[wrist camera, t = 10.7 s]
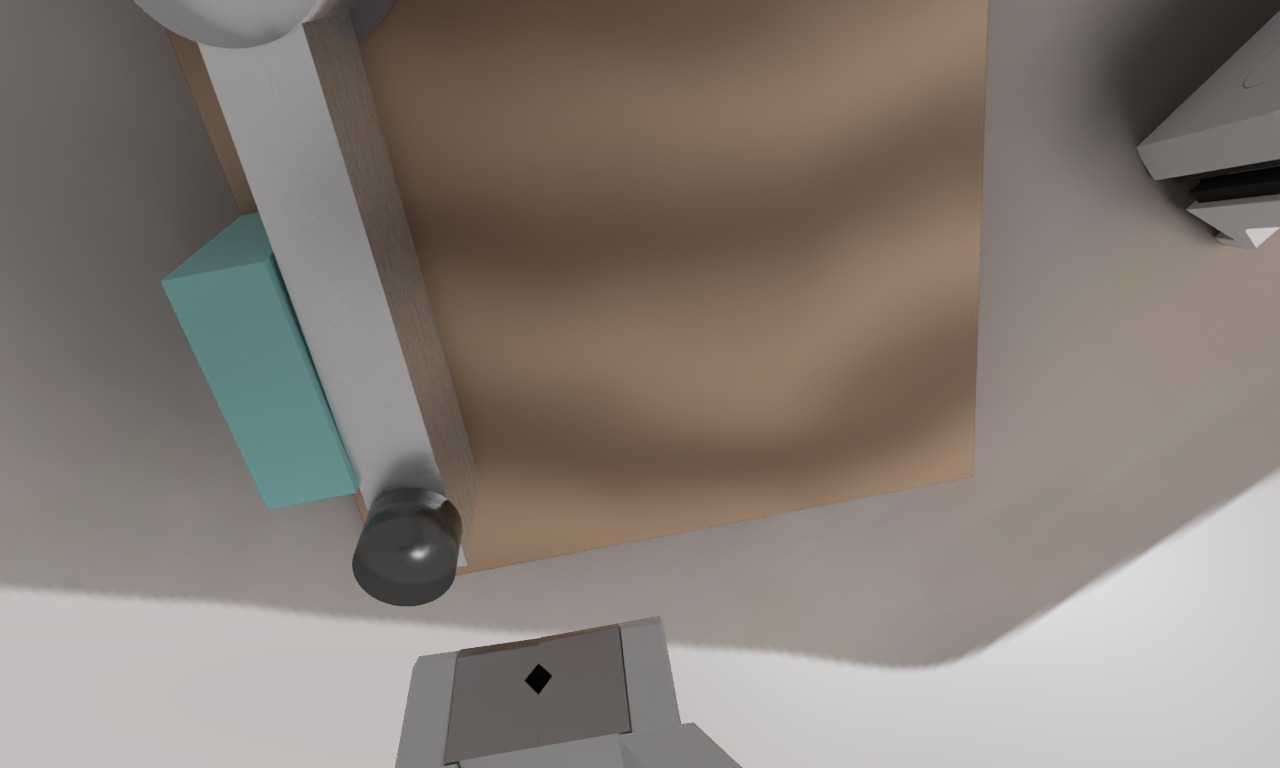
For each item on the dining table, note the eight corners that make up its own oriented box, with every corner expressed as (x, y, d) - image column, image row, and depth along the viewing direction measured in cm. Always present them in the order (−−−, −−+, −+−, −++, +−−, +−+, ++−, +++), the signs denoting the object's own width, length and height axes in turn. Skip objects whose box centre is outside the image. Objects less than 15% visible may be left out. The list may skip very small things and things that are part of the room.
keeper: (240, 215, 22) (160, 281, 17) (323, 199, 22) (263, 261, 17) (319, 410, 24) (267, 510, 20) (392, 396, 24) (356, 492, 20)
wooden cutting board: (109, -183, 19) (68, -197, 17) (968, -344, 19) (1006, -372, 17) (398, 559, 29) (389, 594, 27) (953, 453, 29) (977, 481, 28)
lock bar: (152, -160, 17) (-9, -207, 12) (341, -189, 17) (257, -248, 12) (382, 496, 25) (340, 628, 20) (512, 475, 25) (501, 600, 20)
